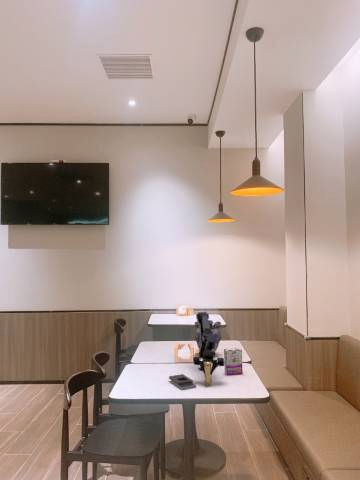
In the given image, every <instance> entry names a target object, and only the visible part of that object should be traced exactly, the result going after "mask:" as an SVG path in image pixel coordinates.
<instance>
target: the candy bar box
mask: <svg viewBox="0 0 360 480" xmlns="http://www.w3.org/2000/svg"><path fill="white" fill-rule="evenodd" d="M223 353H224V354H223V356H224V357H223V358H224V374H225V375H226V376H227V377H228V376H239V375H243V350H242V348H240V347H234V348H224V349H223Z"/></svg>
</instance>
